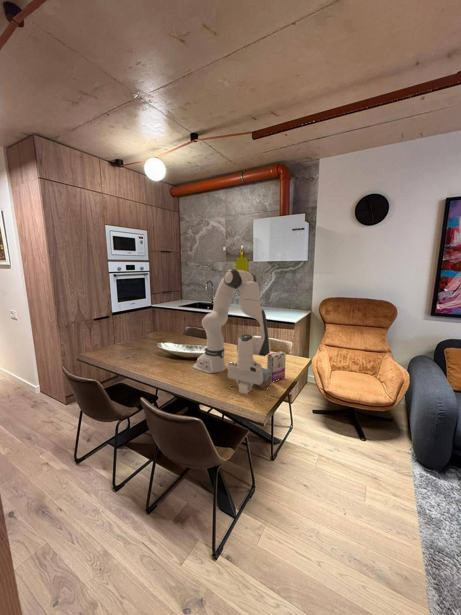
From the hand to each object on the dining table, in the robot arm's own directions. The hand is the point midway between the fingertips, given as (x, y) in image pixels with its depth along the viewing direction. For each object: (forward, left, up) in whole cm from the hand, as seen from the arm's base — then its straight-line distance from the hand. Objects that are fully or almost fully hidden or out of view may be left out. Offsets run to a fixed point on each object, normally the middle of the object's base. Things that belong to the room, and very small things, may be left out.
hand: (244, 388), depth 143 cm
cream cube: (0, 0, -2) cm, 2 cm away
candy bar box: (+11, +23, -2) cm, 25 cm away
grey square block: (+6, +11, +3) cm, 13 cm away
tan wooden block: (+6, +11, -2) cm, 13 cm away
